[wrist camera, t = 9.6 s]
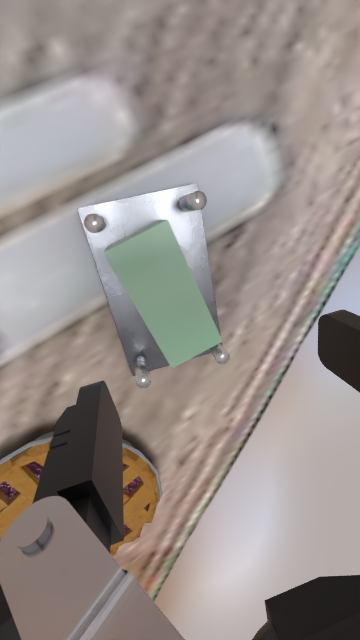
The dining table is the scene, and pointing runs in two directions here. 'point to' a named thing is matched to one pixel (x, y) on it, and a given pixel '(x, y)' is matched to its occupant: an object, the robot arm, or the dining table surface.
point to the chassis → (101, 231)
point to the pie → (26, 467)
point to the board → (164, 291)
